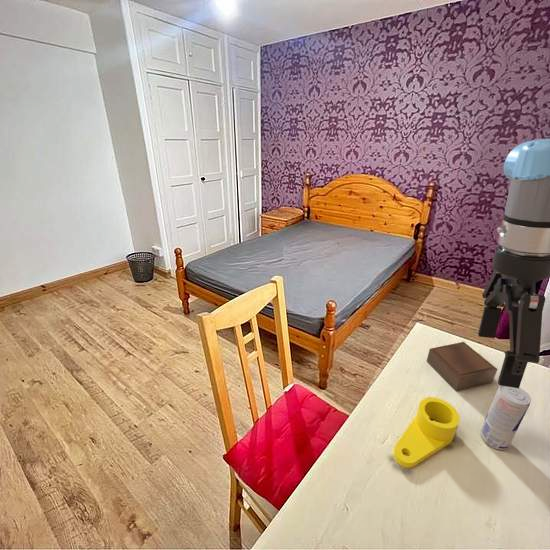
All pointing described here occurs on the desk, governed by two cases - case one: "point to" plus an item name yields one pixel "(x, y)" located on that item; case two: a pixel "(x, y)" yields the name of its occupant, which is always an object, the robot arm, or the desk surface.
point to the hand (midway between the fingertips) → (495, 358)
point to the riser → (461, 366)
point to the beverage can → (505, 416)
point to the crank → (427, 432)
